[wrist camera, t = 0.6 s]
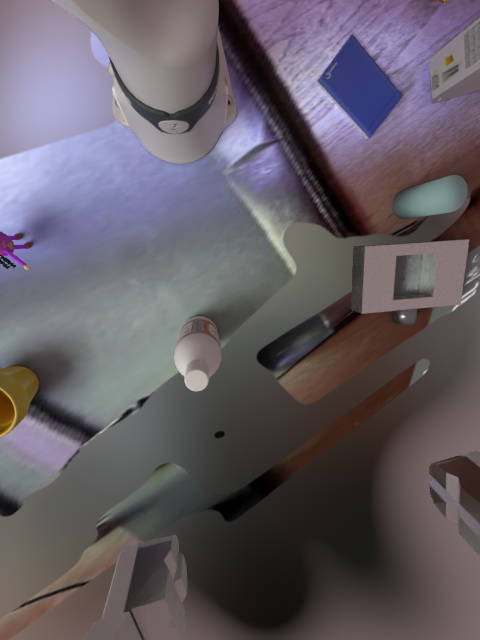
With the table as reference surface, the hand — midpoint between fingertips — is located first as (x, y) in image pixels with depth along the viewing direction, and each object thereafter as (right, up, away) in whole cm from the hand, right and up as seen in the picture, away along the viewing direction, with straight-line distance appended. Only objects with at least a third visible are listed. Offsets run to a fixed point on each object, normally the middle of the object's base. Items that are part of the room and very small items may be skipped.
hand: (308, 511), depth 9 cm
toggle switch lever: (+29, +27, +43) cm, 59 cm away
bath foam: (-10, +3, +45) cm, 46 cm away
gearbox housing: (+29, +13, +47) cm, 57 cm away
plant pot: (-42, -5, +43) cm, 60 cm away
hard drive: (+17, +44, +39) cm, 61 cm away
